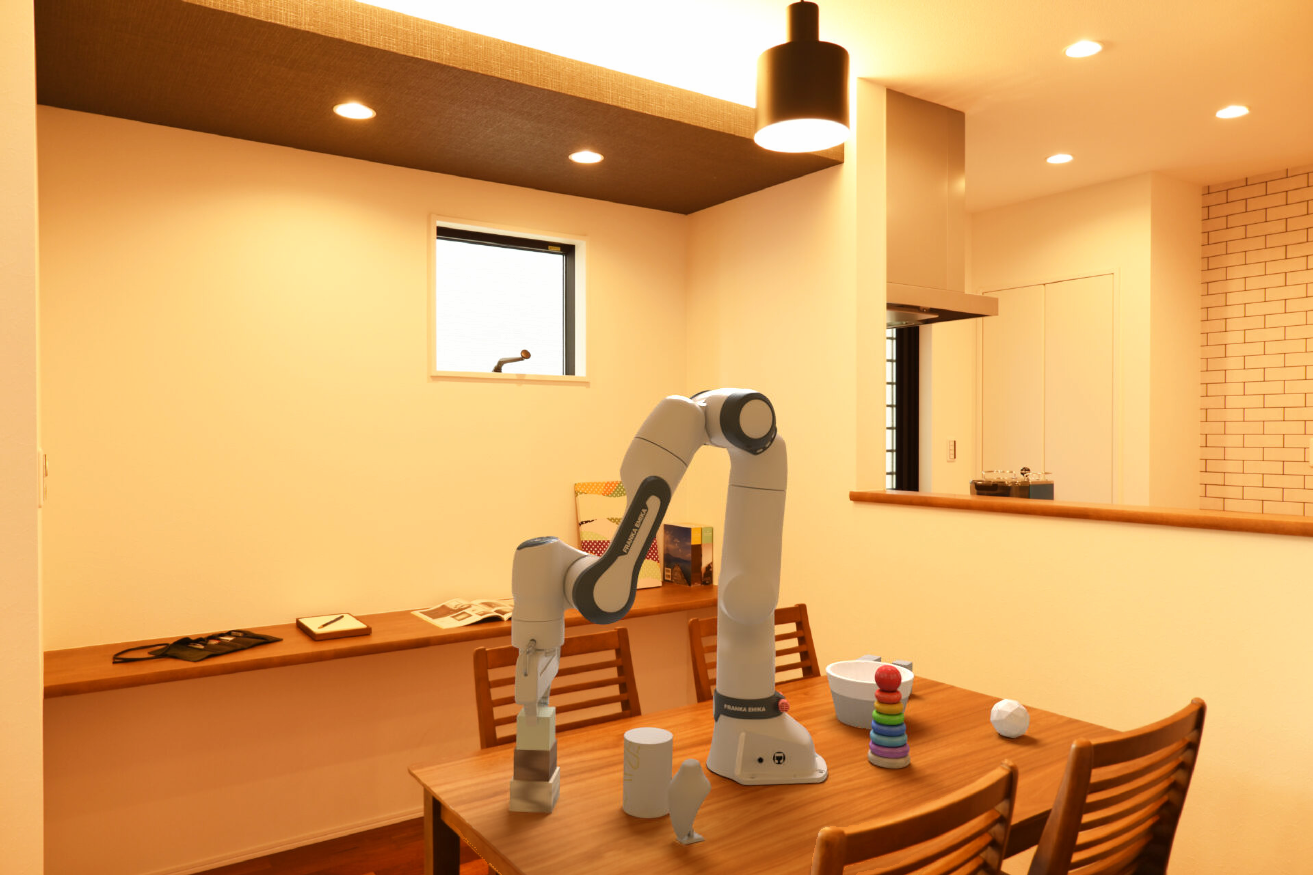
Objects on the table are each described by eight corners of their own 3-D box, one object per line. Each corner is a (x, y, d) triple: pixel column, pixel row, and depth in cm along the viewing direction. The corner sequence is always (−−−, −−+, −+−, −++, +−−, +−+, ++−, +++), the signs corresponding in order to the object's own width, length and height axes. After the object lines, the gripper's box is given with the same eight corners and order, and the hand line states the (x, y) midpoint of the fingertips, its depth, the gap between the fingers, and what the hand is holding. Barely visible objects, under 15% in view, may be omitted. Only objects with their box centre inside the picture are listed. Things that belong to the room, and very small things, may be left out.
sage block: (555, 739, 147) (555, 706, 147) (549, 750, 142) (549, 717, 142) (523, 737, 147) (523, 705, 147) (516, 749, 142) (516, 716, 142)
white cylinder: (621, 797, 147) (622, 727, 147) (668, 796, 148) (670, 726, 148) (624, 818, 139) (625, 744, 139) (673, 817, 140) (675, 743, 140)
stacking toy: (876, 751, 171) (877, 657, 171) (916, 760, 167) (917, 664, 167) (861, 763, 165) (862, 665, 165) (902, 773, 160) (903, 672, 160)
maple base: (559, 795, 148) (560, 766, 148) (551, 813, 141) (552, 782, 141) (519, 794, 148) (519, 765, 148) (509, 811, 141) (509, 780, 141)
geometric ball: (1007, 745, 184) (1016, 710, 188) (1033, 743, 177) (1041, 707, 181) (978, 728, 183) (987, 694, 187) (1003, 726, 176) (1012, 690, 180)
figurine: (659, 834, 133) (660, 757, 134) (686, 825, 137) (687, 750, 137) (689, 853, 127) (690, 772, 127) (716, 844, 131) (717, 765, 131)
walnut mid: (556, 767, 147) (557, 738, 147) (549, 781, 141) (549, 751, 141) (522, 766, 148) (522, 736, 148) (513, 779, 142) (513, 749, 142)
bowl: (845, 700, 205) (846, 655, 205) (925, 717, 194) (926, 669, 194) (810, 721, 189) (811, 672, 189) (895, 740, 178) (896, 688, 178)
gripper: (544, 648, 134) (544, 737, 134) (566, 621, 155) (566, 698, 155) (505, 648, 135) (504, 736, 135) (531, 620, 155) (531, 697, 155)
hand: (537, 715), depth 145 cm, fingers open, 8 cm apart
